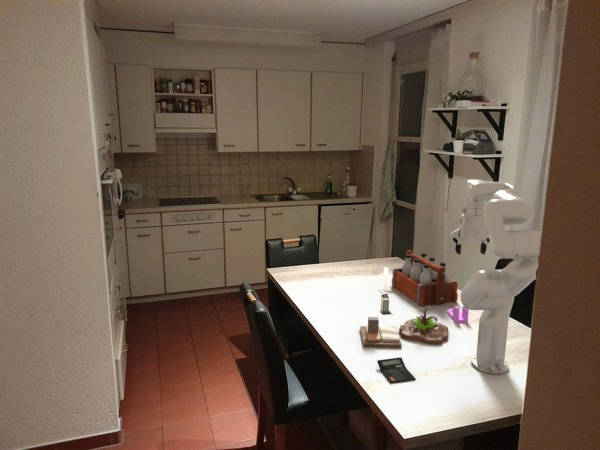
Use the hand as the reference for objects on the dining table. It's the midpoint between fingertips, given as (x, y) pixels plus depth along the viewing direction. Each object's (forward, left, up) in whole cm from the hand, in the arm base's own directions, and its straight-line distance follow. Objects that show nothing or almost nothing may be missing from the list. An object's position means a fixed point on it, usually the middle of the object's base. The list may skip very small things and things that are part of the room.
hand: (470, 253), depth 183 cm
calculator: (-31, +33, -36) cm, 58 cm away
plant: (+2, +16, -36) cm, 40 cm away
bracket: (+20, -2, -36) cm, 41 cm away
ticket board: (-4, +35, -36) cm, 50 cm away
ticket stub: (-4, +38, -34) cm, 51 cm away
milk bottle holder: (+49, +7, -36) cm, 61 cm away
